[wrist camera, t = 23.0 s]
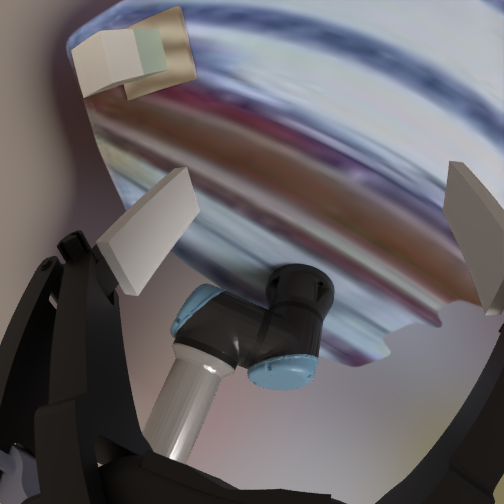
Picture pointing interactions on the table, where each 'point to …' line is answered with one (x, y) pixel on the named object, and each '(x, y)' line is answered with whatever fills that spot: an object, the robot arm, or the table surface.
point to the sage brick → (150, 52)
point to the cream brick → (106, 61)
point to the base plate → (166, 54)
